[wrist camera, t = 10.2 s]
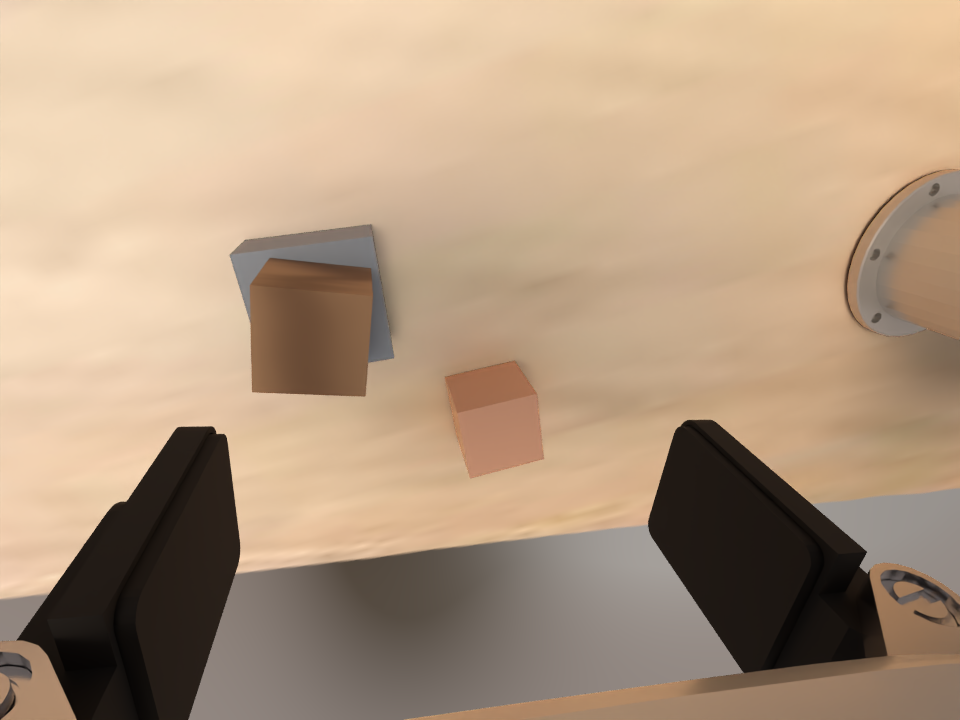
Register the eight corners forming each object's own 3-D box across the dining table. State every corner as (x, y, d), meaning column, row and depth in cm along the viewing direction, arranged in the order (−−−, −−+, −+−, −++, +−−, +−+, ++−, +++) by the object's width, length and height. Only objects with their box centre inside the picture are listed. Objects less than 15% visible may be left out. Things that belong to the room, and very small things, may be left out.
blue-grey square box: (370, 223, 29) (372, 236, 26) (390, 333, 32) (394, 358, 29) (245, 239, 28) (229, 254, 25) (278, 351, 31) (268, 379, 28)
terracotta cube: (514, 360, 35) (536, 393, 30) (521, 419, 37) (543, 458, 33) (444, 376, 34) (457, 413, 30) (456, 435, 36) (470, 478, 32)
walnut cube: (371, 268, 26) (373, 296, 22) (364, 354, 28) (365, 396, 24) (269, 257, 25) (249, 285, 21) (270, 348, 27) (252, 392, 22)
